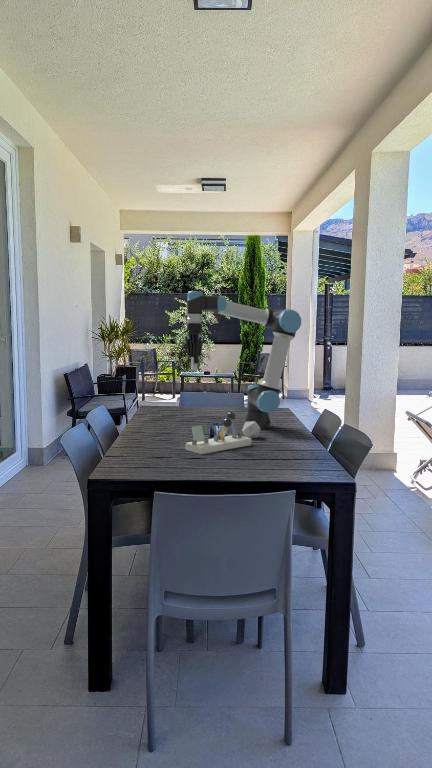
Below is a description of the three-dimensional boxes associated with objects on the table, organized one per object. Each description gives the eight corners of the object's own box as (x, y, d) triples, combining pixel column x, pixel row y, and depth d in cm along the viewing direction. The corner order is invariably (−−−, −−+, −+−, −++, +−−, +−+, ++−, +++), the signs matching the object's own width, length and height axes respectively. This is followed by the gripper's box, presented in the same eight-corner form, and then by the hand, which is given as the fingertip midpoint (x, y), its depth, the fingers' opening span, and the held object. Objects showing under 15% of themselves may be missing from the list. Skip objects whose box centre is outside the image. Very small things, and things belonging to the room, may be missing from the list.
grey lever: (230, 437, 258) (224, 413, 260) (237, 436, 260) (230, 413, 263) (236, 434, 255) (229, 411, 257) (242, 433, 257) (235, 410, 260)
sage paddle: (194, 442, 242) (191, 427, 243) (203, 441, 245) (200, 425, 246) (196, 442, 241) (192, 426, 242) (205, 440, 244) (201, 425, 246)
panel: (185, 449, 245) (185, 437, 244) (235, 440, 264) (235, 429, 264) (200, 454, 237) (201, 441, 236) (251, 444, 256) (251, 433, 256)
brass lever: (214, 436, 250) (223, 416, 244) (220, 435, 252) (229, 416, 247) (219, 442, 247) (228, 422, 242) (225, 441, 250) (234, 421, 244)
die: (238, 438, 274) (242, 425, 267) (245, 427, 280) (248, 414, 273) (253, 445, 272) (257, 432, 266) (259, 434, 278) (264, 421, 272)
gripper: (180, 322, 277) (180, 369, 279) (196, 322, 267) (196, 371, 269) (192, 322, 281) (192, 368, 284) (208, 322, 272) (208, 370, 274)
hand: (194, 369), depth 277 cm, fingers closed
